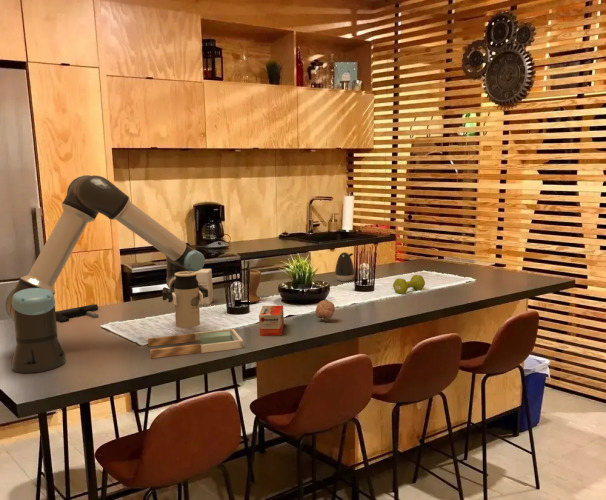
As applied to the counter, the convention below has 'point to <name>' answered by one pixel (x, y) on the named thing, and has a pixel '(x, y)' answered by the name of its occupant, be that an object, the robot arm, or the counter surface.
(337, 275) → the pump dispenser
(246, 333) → the counter surface
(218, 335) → the chip
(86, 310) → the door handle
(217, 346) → the tray
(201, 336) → the chip
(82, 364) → the counter surface
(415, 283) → the dumbbell
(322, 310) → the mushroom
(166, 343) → the slot rails
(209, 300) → the supplement box
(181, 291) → the travel mug
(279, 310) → the medicine box
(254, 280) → the brown boot
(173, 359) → the counter surface
